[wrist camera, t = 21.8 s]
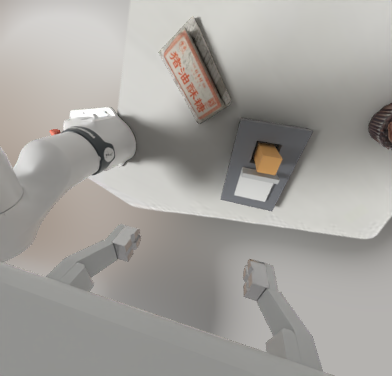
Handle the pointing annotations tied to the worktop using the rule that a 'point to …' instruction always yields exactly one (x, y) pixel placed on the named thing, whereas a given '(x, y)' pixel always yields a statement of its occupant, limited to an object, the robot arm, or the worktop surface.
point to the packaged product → (195, 72)
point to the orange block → (267, 158)
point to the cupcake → (382, 126)
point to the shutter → (255, 184)
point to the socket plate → (241, 157)
